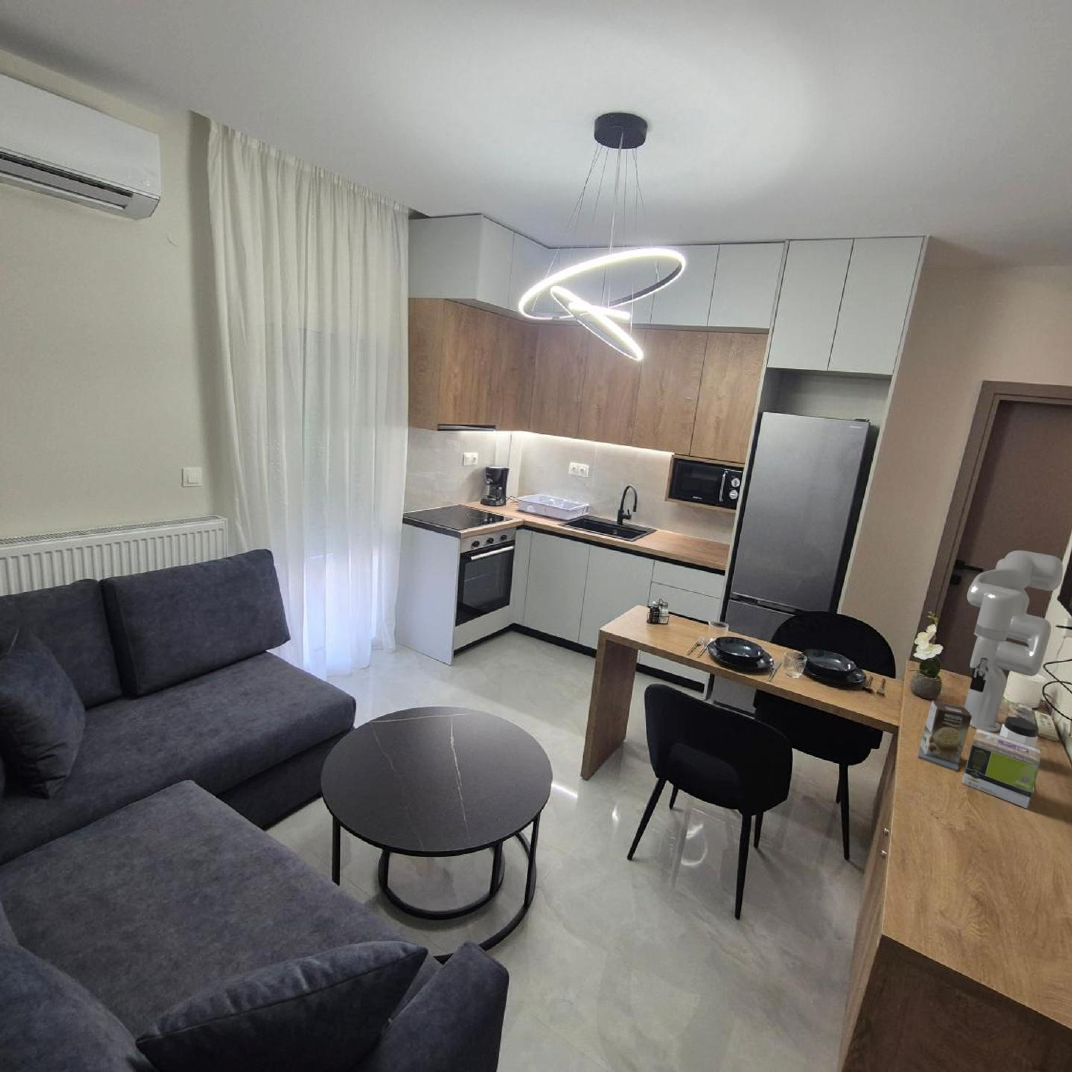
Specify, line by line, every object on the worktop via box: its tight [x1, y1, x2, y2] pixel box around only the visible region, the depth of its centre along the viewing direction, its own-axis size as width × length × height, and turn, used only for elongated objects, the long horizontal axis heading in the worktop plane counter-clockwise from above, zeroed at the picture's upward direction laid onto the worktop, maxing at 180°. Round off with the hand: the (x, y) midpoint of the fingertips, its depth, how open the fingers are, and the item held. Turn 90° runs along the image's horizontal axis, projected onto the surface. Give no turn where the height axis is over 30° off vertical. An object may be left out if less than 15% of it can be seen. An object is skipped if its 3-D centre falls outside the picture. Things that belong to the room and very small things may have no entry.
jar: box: [999, 716, 1040, 747], centre depth 182 cm, size 9×8×12 cm
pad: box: [917, 745, 959, 772], centre depth 180 cm, size 12×10×1 cm
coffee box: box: [920, 700, 972, 764], centre depth 178 cm, size 9×6×16 cm
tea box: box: [962, 728, 1042, 809], centre depth 164 cm, size 15×10×15 cm
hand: (976, 684), depth 174 cm, fingers open, 9 cm apart
